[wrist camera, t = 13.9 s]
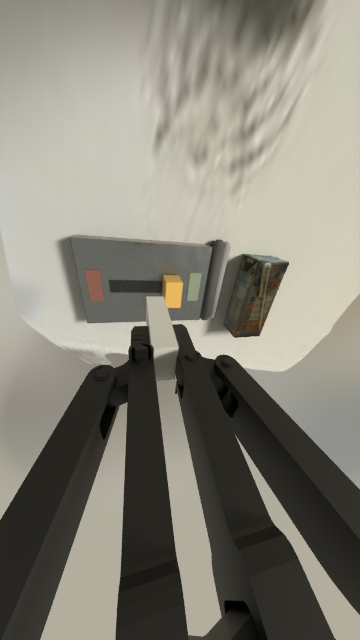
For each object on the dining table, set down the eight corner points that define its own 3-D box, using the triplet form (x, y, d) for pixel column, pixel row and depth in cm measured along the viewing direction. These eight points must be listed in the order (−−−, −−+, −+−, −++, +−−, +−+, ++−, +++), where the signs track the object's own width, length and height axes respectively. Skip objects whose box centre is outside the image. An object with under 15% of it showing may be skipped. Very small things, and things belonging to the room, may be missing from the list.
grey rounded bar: (211, 238, 35) (216, 240, 33) (229, 239, 36) (234, 241, 34) (197, 317, 45) (200, 322, 43) (212, 316, 46) (215, 321, 44)
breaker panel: (75, 234, 30) (69, 237, 27) (206, 244, 36) (212, 247, 33) (90, 315, 38) (87, 323, 36) (195, 313, 44) (199, 319, 41)
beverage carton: (273, 254, 40) (294, 262, 35) (247, 324, 50) (261, 338, 45) (242, 252, 38) (260, 259, 33) (222, 325, 48) (233, 340, 43)
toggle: (163, 275, 34) (166, 282, 30) (178, 275, 34) (183, 282, 31) (161, 298, 36) (164, 308, 33) (176, 298, 37) (180, 307, 34)
